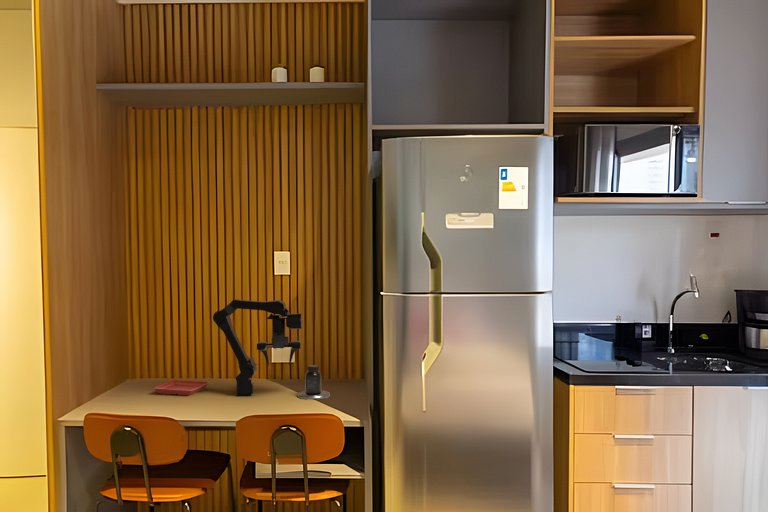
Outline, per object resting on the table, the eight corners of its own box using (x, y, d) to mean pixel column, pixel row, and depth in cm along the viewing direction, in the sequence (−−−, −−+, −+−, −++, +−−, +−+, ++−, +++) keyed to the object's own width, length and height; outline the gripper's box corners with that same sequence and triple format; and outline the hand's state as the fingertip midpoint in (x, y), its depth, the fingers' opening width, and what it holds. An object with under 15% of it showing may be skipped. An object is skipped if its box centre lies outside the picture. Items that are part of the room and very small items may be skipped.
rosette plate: (297, 400, 275) (297, 397, 275) (297, 392, 289) (297, 390, 289) (330, 399, 277) (330, 396, 277) (329, 391, 291) (329, 389, 291)
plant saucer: (210, 388, 299) (210, 381, 299) (191, 397, 281) (191, 389, 281) (173, 386, 302) (173, 379, 302) (152, 395, 284) (152, 388, 284)
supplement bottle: (310, 391, 287) (310, 364, 287) (323, 392, 285) (323, 365, 284) (302, 394, 281) (302, 366, 281) (316, 396, 278) (316, 367, 278)
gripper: (255, 332, 275) (256, 369, 275) (300, 331, 278) (300, 367, 278) (257, 328, 286) (257, 364, 287) (300, 327, 289) (300, 362, 289)
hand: (279, 364), depth 285 cm, fingers open, 9 cm apart
